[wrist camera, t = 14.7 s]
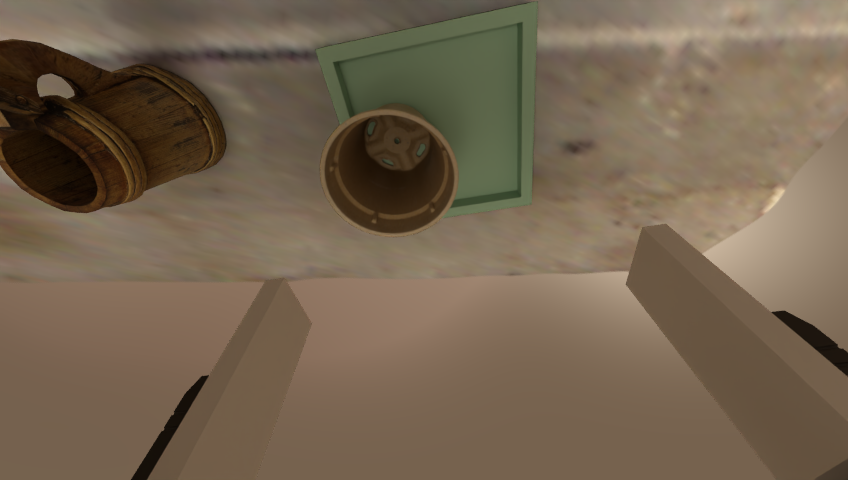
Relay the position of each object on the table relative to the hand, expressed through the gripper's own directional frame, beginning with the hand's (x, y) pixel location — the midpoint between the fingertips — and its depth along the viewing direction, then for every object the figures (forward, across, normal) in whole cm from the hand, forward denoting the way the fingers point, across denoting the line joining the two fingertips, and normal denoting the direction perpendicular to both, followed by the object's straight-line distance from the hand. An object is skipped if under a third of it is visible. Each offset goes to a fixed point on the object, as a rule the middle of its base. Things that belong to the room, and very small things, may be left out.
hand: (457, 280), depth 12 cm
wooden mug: (+21, -23, +7) cm, 32 cm away
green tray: (+20, 0, 0) cm, 20 cm away
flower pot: (+19, -4, 0) cm, 20 cm away
